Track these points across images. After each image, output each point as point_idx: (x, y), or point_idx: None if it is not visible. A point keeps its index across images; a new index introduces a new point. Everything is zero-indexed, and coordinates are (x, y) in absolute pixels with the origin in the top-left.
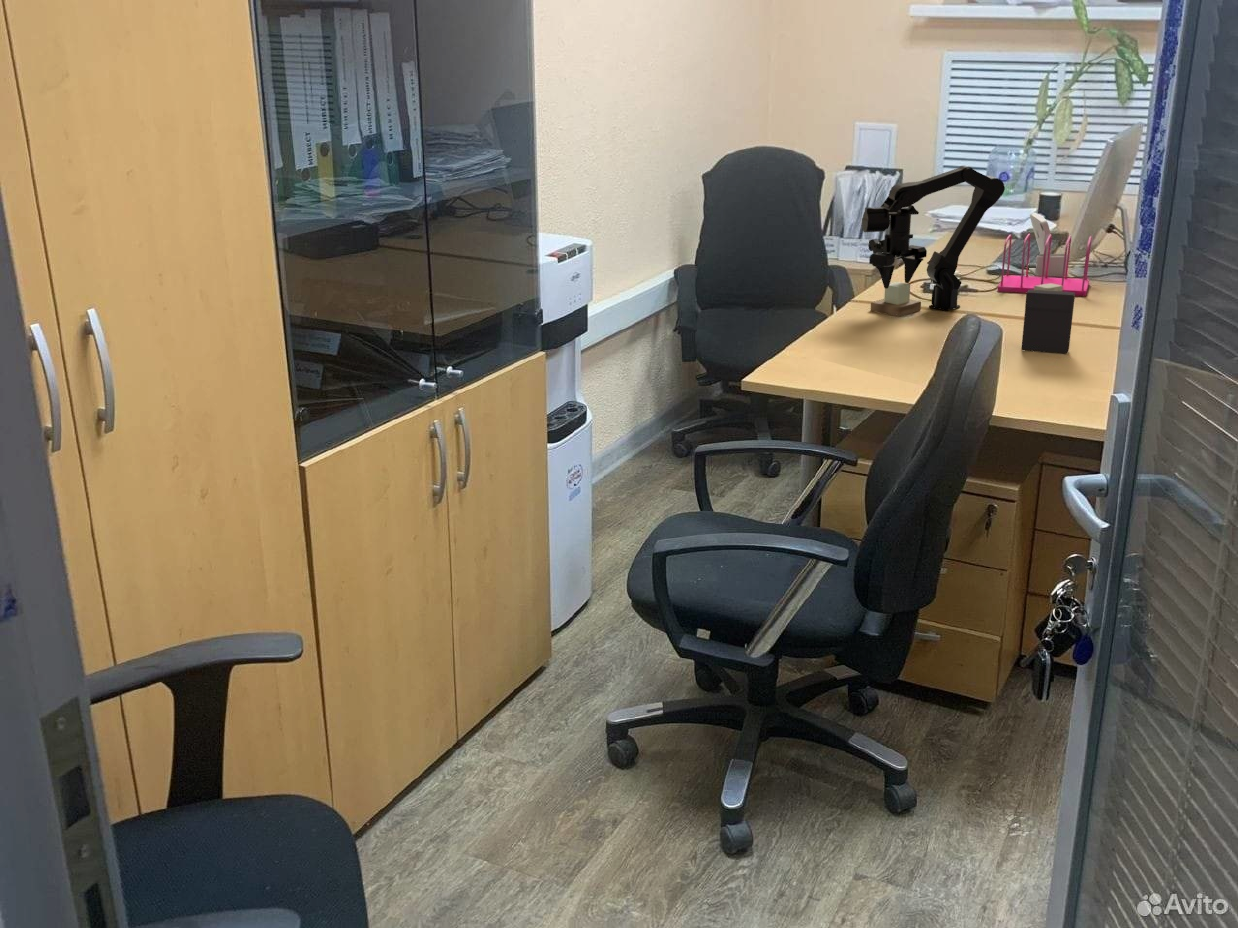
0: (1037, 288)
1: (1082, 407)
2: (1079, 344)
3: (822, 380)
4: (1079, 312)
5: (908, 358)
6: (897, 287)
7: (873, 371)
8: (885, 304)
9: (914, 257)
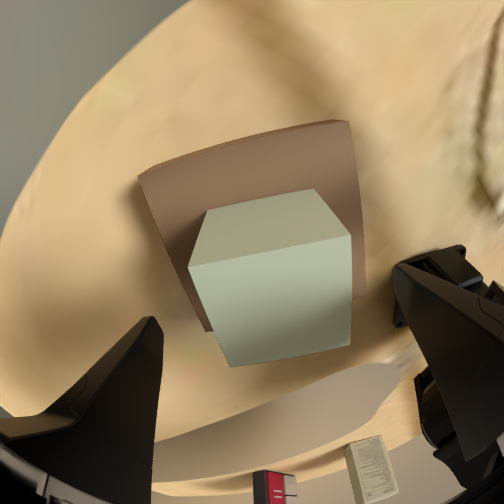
0: (361, 502)
1: (187, 494)
2: (329, 467)
3: (16, 413)
4: None
5: None
6: (226, 358)
7: None
8: (181, 257)
9: (502, 451)
